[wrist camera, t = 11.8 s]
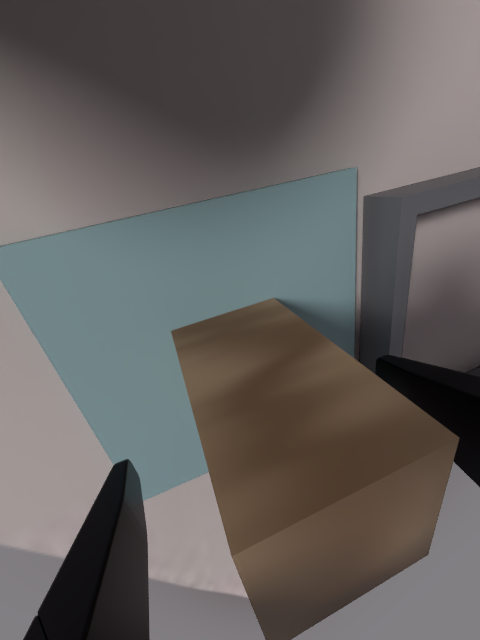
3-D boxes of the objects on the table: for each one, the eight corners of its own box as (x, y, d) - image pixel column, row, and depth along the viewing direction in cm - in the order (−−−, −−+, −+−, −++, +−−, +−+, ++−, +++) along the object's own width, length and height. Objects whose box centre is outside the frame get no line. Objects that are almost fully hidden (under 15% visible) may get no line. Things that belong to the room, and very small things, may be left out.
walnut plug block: (273, 297, 12) (459, 437, 5) (284, 378, 14) (428, 554, 7) (170, 330, 11) (231, 556, 4) (199, 412, 13) (270, 651, 6)
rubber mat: (349, 168, 11) (356, 167, 11) (349, 403, 17) (353, 407, 17) (-11, 248, 9) (-18, 251, 8) (137, 495, 15) (137, 503, 14)
